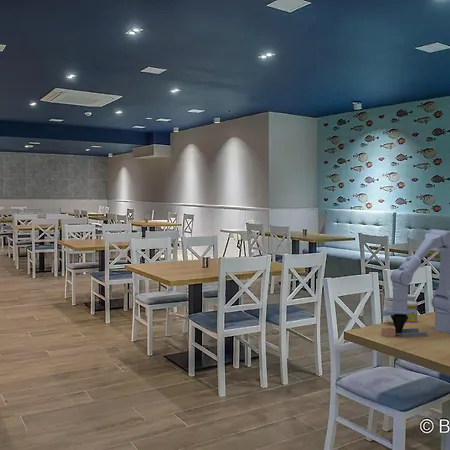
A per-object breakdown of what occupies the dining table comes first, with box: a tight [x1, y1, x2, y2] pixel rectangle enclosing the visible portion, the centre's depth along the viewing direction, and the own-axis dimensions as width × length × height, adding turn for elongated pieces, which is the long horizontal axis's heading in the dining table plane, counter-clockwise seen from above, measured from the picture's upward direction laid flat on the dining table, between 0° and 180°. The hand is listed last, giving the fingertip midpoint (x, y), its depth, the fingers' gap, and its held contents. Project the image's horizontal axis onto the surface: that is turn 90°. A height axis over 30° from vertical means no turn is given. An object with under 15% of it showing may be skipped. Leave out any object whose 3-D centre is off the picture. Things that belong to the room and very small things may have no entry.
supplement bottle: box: [405, 293, 419, 324], centre depth 228 cm, size 7×7×13 cm
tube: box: [395, 327, 428, 338], centre depth 206 cm, size 11×6×3 cm, turn 103°
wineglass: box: [384, 297, 393, 325], centre depth 221 cm, size 7×7×12 cm
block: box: [380, 326, 396, 338], centre depth 204 cm, size 4×4×4 cm
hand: (398, 332), depth 204 cm, fingers closed
